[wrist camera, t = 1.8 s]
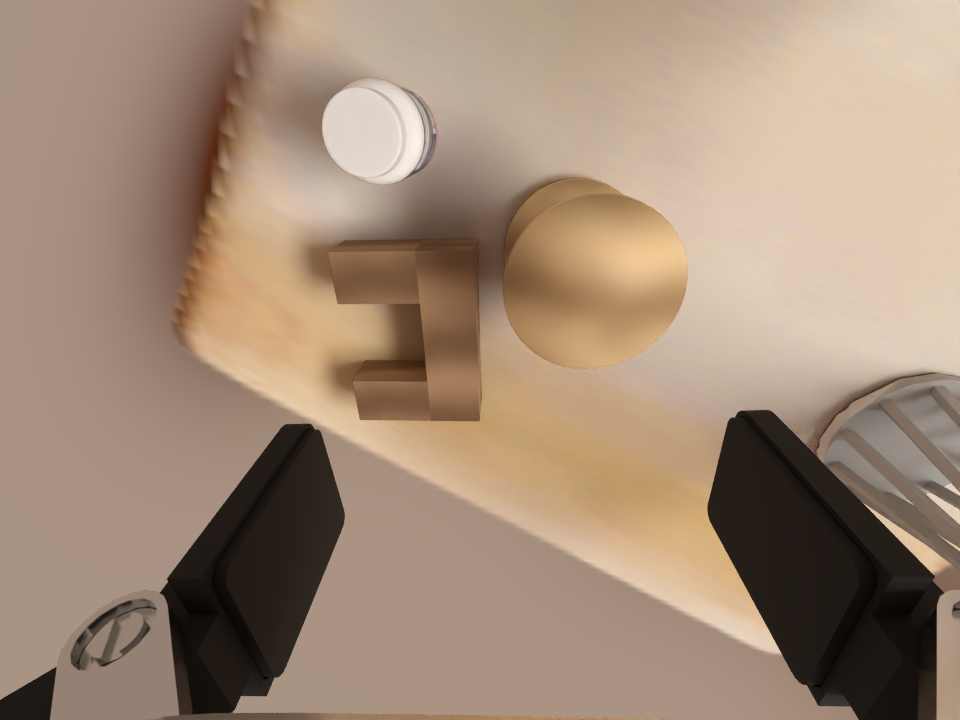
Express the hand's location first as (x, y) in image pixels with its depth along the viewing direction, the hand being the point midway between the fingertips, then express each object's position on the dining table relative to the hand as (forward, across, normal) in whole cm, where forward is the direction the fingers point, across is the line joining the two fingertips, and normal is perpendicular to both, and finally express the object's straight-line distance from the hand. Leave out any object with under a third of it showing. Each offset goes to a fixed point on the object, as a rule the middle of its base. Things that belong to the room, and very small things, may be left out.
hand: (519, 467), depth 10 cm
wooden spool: (+24, -5, +1) cm, 25 cm away
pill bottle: (+25, +7, -8) cm, 27 cm away
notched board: (+24, +8, +6) cm, 26 cm away
